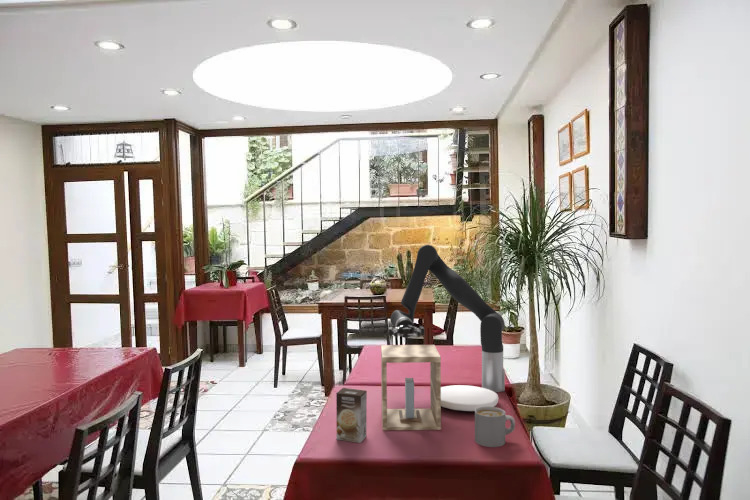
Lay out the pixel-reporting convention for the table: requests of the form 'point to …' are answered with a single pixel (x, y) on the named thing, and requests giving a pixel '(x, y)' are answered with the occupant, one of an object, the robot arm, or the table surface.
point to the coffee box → (351, 414)
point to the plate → (467, 397)
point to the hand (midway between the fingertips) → (407, 334)
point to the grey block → (409, 397)
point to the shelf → (430, 417)
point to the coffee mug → (492, 426)
